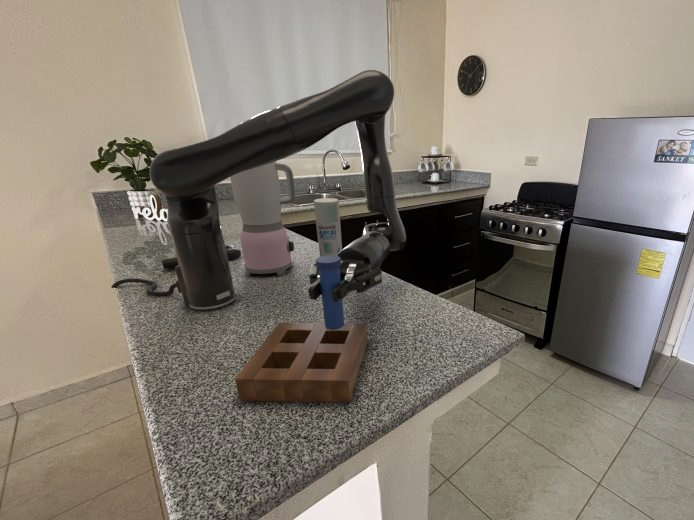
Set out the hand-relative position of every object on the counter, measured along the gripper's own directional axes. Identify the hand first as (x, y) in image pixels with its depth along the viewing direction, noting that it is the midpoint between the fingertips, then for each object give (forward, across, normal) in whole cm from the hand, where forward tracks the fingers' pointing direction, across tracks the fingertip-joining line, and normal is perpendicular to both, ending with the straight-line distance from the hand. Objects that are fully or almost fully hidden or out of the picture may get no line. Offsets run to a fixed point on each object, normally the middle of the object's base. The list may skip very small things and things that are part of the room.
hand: (323, 295), depth 54 cm
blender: (-39, -34, +14) cm, 54 cm away
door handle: (-43, -61, +14) cm, 76 cm away
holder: (+1, -3, +13) cm, 14 cm away
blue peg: (-3, 0, +7) cm, 8 cm away
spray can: (-43, -19, +14) cm, 49 cm away
